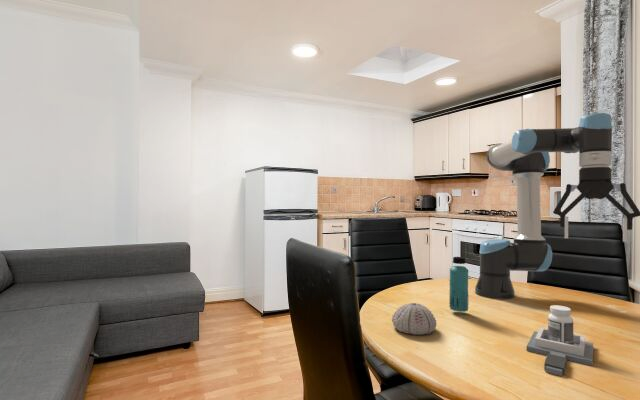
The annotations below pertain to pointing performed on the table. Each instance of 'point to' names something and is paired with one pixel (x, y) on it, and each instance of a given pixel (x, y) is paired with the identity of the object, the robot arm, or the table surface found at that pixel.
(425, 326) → the sea urchin shell
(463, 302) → the beverage bottle
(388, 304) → the table surface
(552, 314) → the pill bottle
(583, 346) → the holder
